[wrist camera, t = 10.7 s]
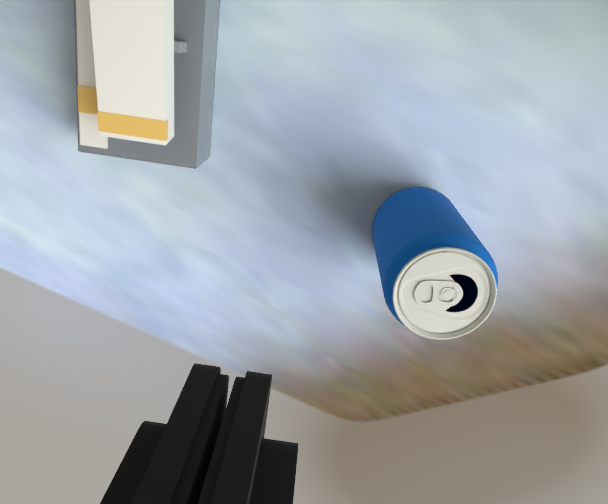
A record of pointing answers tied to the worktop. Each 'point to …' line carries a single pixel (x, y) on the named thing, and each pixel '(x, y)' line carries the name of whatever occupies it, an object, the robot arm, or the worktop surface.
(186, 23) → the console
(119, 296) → the worktop surface
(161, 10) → the block
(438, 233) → the beverage can
